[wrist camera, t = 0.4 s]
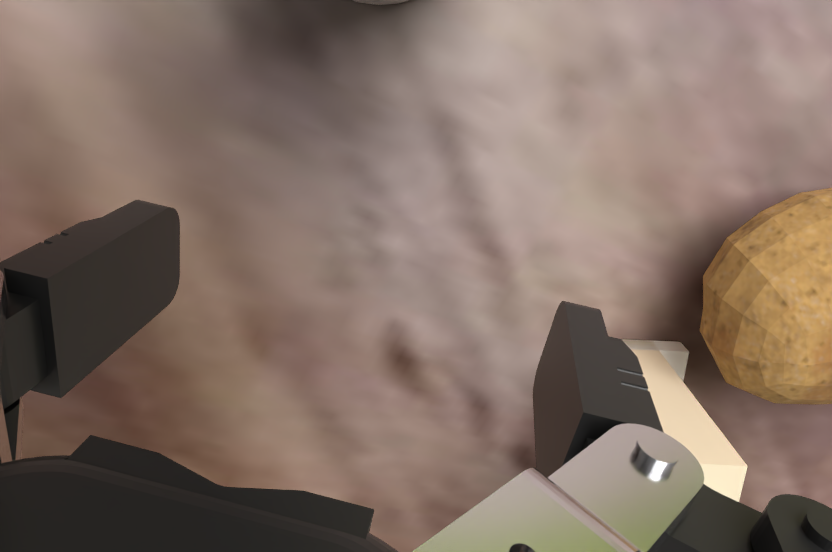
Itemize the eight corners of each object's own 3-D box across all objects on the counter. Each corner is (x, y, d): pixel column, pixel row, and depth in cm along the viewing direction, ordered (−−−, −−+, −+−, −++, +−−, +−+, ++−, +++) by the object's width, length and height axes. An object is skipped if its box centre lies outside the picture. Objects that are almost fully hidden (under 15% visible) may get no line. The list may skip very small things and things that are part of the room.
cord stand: (565, 336, 31) (620, 459, 21) (680, 341, 31) (790, 468, 21) (535, 595, 37) (566, 786, 27) (631, 601, 36) (698, 797, 27)
